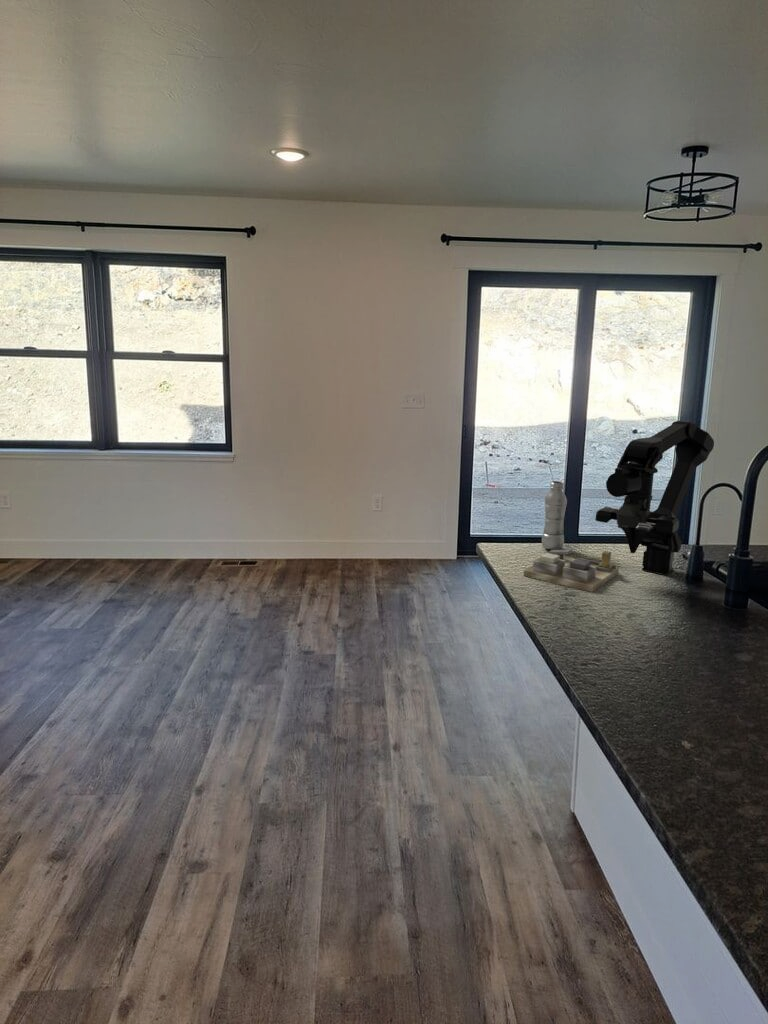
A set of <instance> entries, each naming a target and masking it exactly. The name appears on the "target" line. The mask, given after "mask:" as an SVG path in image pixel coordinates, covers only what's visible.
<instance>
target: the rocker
mask: <svg viewBox="0 0 768 1024" xmlns="http://www.w3.org/2000/svg"><path fill="white" fill-rule="evenodd" d="M547 553H549V554H554V555H560V554H564V555H570V554H571V553H573V549H559V550H550V551H548V552H547Z"/></svg>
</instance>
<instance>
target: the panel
mask: <svg viewBox="0 0 768 1024" xmlns="http://www.w3.org/2000/svg"><path fill="white" fill-rule="evenodd" d="M564 555H565V554H560V555H559V556H560V558H559V562H557V563H555V564H550V563H546V562H541V561H540V557H539V558H537V559H534V560H533V565H532V566H529V567H528V568H526V569H524V570H523V577H526V576H528V577H527V578H530V577H533V578H532V579H534V578H536V579H535V580H539V579H541V580H540V581H543V580H546V581H545V582H547V581H550V582H549V583H551V582H553V583H552V584H556V583H558V584H557V585H560V584H561V586H564V585H565V587H568V586H569V587H570V588H574V589H577V590H582V591H586V592H590V593H593V592H594V591H595V590H597V589H598V588H600V587H602V585H604V584H605V583H608V582H609V581H610V580H611V579H613V578H614V577H616V576H617V575H618V574H619V571H620V570H619V569H620V568H618V567H617V565H615V564H611V563H610V565H613V568H612V569H608V568H603V567H598V565H599V564H600V563H601V562H600V561H595V560H592V559H591V560H590V559H585V558H581V557H579V558H577V559H578V560H583V561H588V562H590V568H589V569H587V570H585V571H583V570H578V569H574V568H570V562H572V561H574V560H575V558H571V557H567V556H564Z"/></svg>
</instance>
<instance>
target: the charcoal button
mask: <svg viewBox="0 0 768 1024" xmlns="http://www.w3.org/2000/svg"><path fill="white" fill-rule="evenodd" d="M574 559H575V558H574ZM570 568H574V569H578V570H583V571H585V570H587V569H589V568H590V562H588V561H583V560H578V558H576V559H575V560H574V561H572V562H570Z"/></svg>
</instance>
